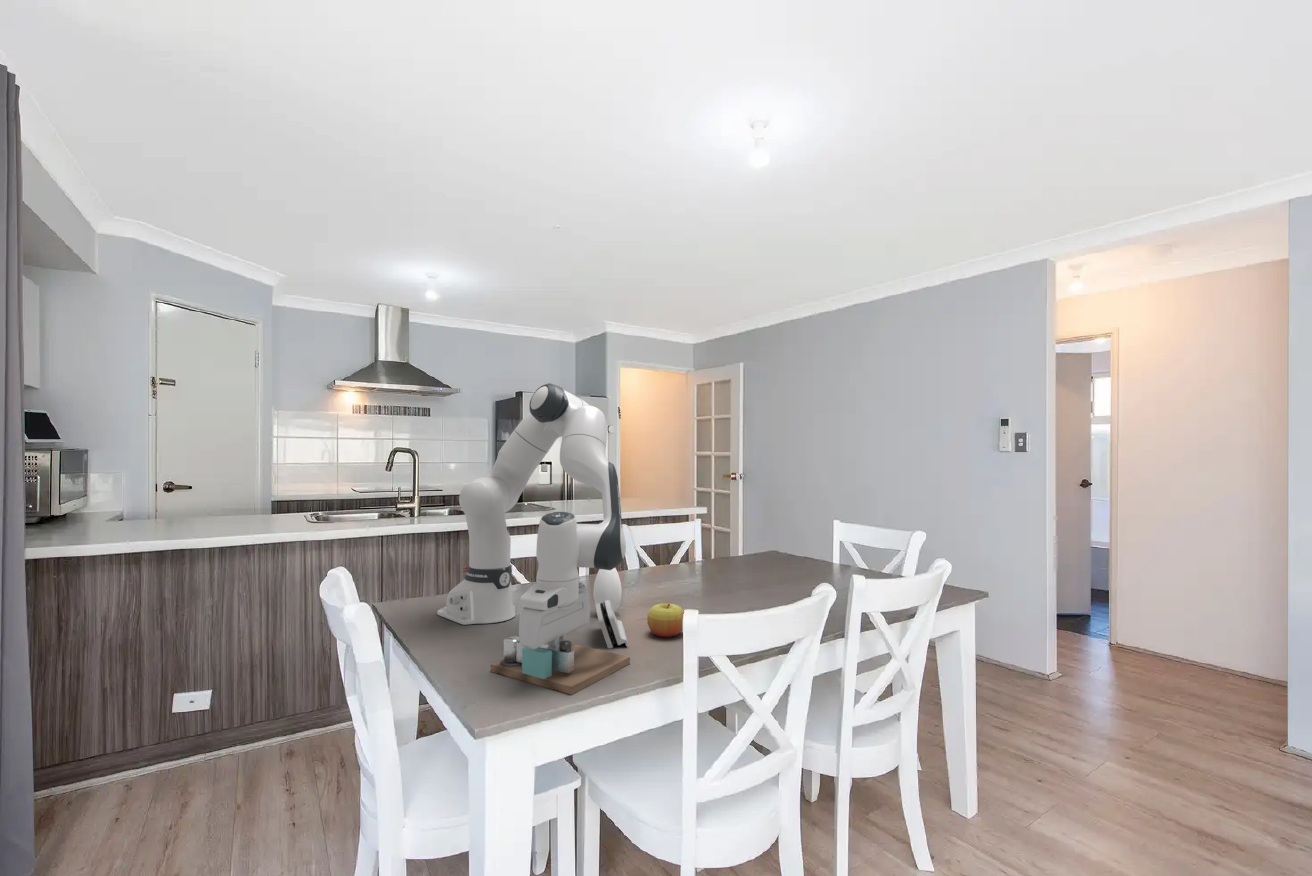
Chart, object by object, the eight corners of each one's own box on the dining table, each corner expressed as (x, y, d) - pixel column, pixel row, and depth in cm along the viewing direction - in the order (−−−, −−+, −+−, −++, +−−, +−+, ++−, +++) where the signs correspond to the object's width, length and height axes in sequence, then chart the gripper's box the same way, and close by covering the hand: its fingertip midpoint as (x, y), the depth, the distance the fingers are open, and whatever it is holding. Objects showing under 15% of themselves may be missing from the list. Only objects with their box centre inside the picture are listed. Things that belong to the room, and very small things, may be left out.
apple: (683, 641, 149) (684, 609, 149) (644, 639, 150) (644, 607, 151) (686, 629, 159) (686, 599, 159) (649, 627, 160) (650, 597, 160)
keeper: (521, 672, 123) (522, 648, 123) (529, 669, 125) (529, 645, 125) (544, 679, 120) (544, 653, 120) (551, 675, 122) (552, 650, 122)
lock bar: (499, 660, 129) (499, 633, 129) (511, 654, 132) (512, 628, 132) (565, 674, 121) (565, 646, 121) (576, 668, 124) (577, 640, 124)
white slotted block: (629, 648, 144) (615, 608, 144) (610, 655, 143) (596, 615, 143) (623, 627, 161) (611, 591, 160) (606, 633, 160) (594, 598, 160)
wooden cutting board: (490, 671, 128) (490, 662, 128) (553, 645, 145) (553, 637, 145) (571, 694, 116) (571, 685, 116) (629, 663, 133) (629, 655, 134)
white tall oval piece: (588, 613, 173) (589, 550, 173) (611, 609, 177) (612, 548, 178) (602, 620, 166) (603, 554, 167) (626, 616, 171) (627, 552, 171)
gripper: (574, 578, 138) (573, 639, 138) (513, 600, 120) (513, 669, 120) (597, 581, 135) (596, 643, 135) (539, 604, 117) (538, 675, 117)
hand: (557, 656), depth 127 cm, fingers closed
